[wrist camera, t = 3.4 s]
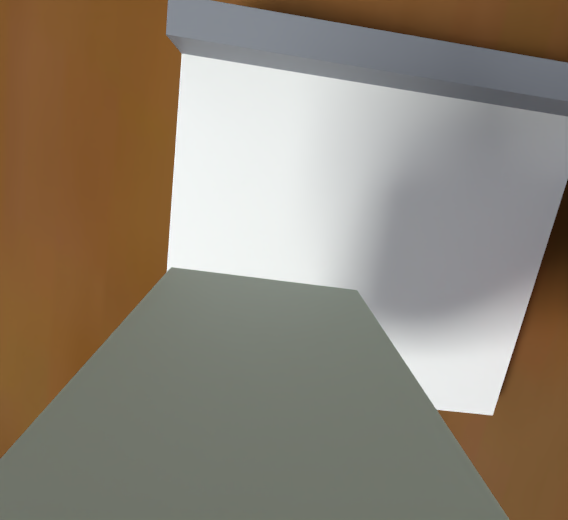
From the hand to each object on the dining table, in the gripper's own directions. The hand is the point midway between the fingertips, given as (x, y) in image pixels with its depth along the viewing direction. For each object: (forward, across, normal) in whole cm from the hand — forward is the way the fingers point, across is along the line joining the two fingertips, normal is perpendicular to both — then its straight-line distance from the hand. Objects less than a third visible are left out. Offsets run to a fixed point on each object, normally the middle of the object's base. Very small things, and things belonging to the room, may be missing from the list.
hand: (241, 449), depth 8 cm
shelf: (+8, -4, -3) cm, 10 cm away
